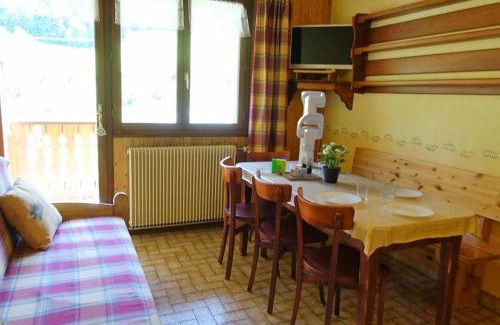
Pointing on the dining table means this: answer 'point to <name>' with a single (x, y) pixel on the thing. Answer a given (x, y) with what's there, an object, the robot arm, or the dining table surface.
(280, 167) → the puzzle toy
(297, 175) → the gear board
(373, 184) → the dining table surface
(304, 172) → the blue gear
